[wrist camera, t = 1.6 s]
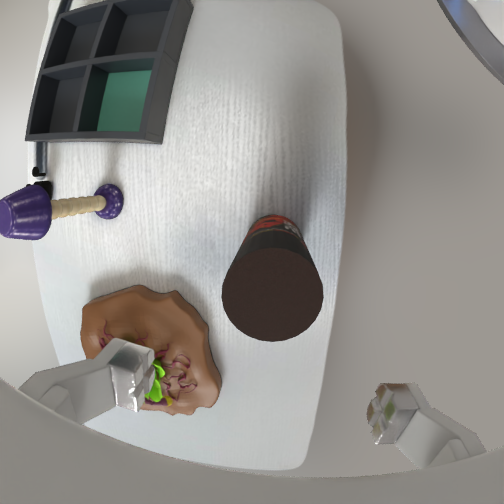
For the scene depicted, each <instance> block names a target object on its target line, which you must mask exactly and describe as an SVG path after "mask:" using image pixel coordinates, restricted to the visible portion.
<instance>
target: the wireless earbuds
mask: <svg viewBox="0 0 504 504" xmlns="http://www.w3.org/2000/svg"><path fill="white" fill-rule="evenodd" d="M32 175H33V176H34V177H38V176H45V175H46V173H39V169H38V167H34V168H33V170H32ZM29 185H31V184H27V185H26V187H27V186H29ZM34 185H39V186H41V187H43V188H44V189H45V191H46V192H47V194H48V195H49V198H50V200H51V191H52V185H51V182H50V181H38V182H35V183H34Z"/></svg>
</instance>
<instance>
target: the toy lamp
mask: <svg viewBox="0 0 504 504" xmlns="http://www.w3.org/2000/svg"><path fill="white" fill-rule="evenodd" d="M122 207H123V196H122V193H121V191H120V189H119V188H118V187H117V186H115V185H113V184H105V185H103V186H101V187H99V188H98V189H97V190H96V192H95V194H94V196H87V197H78V198H69V199H59V200H58V201H57V200H50V198H49V195H48V194H47V192H46V191H45V189H44V188H43V187H41V186H39V185H29V186H27V187H24V188H22V189H20V190H18V191H16V192H14V193H12V194H10V195H8V196H6V197H4V198H3V199H1V200H0V234H1V235H3V236H4V237H7V238H14V239H24V240H38V239H41V238H42V237H44V236H45V235H46V233H47V232H48V230H49V228H50V225H51V221H52V219H56V218H58V217H66V216H68V215H69V216H74V215H76V214H84V213H86V212H93V211H95V212H96V214H97V215H98V216H100V217H101V218H104V219H113V218H115V217H117V216H118V215H119V214H120V212H121V210H122Z"/></svg>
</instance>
